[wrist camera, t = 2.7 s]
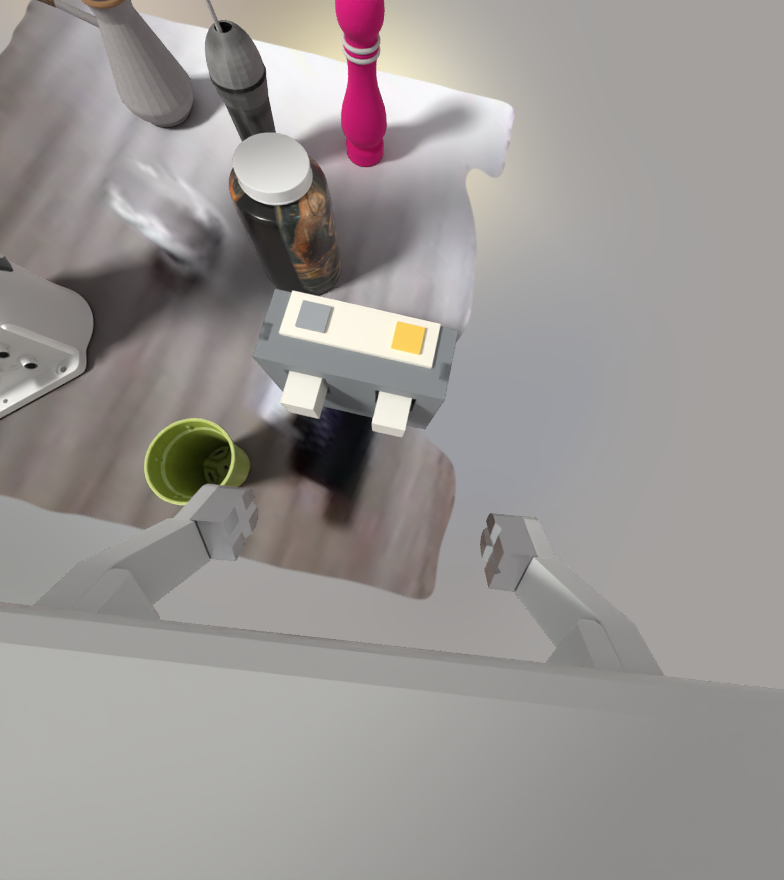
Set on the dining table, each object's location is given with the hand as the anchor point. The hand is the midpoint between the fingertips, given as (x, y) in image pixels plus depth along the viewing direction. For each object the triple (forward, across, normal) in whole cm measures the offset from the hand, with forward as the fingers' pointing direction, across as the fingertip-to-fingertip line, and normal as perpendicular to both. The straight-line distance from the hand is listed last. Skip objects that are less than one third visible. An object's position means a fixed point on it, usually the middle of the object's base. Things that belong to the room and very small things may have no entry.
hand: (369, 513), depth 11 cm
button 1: (+25, +10, +8) cm, 28 cm away
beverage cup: (+59, +26, -17) cm, 67 cm away
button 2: (+25, 0, +9) cm, 26 cm away
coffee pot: (+64, +49, -24) cm, 84 cm away
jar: (+47, +17, -4) cm, 50 cm away
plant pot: (+24, +22, +20) cm, 38 cm away
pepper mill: (+64, +10, -20) cm, 68 cm away
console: (+34, +5, +10) cm, 35 cm away
